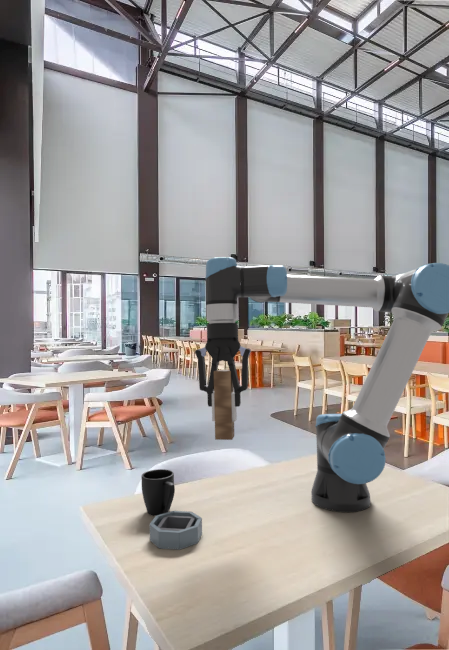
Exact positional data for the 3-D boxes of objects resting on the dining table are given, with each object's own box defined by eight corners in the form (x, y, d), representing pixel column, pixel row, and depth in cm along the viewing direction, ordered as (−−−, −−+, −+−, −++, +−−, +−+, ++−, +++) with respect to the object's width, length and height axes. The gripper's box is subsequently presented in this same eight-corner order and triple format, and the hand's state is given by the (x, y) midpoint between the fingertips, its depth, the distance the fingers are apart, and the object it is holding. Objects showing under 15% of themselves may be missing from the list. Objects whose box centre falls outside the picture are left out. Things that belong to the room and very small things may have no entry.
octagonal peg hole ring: (205, 527, 99) (204, 512, 99) (194, 550, 88) (193, 533, 88) (160, 525, 101) (160, 510, 101) (144, 547, 90) (144, 530, 90)
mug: (156, 526, 100) (155, 486, 100) (137, 510, 110) (136, 473, 110) (187, 517, 104) (186, 478, 105) (165, 502, 114) (165, 467, 115)
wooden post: (234, 435, 103) (232, 369, 103) (232, 439, 99) (230, 371, 99) (218, 435, 104) (216, 369, 104) (215, 439, 100) (213, 371, 100)
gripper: (259, 322, 104) (261, 417, 104) (191, 323, 107) (193, 417, 107) (256, 320, 97) (258, 423, 96) (183, 323, 100) (185, 423, 99)
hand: (224, 420), depth 101 cm, fingers closed on wooden post, 4 cm apart
